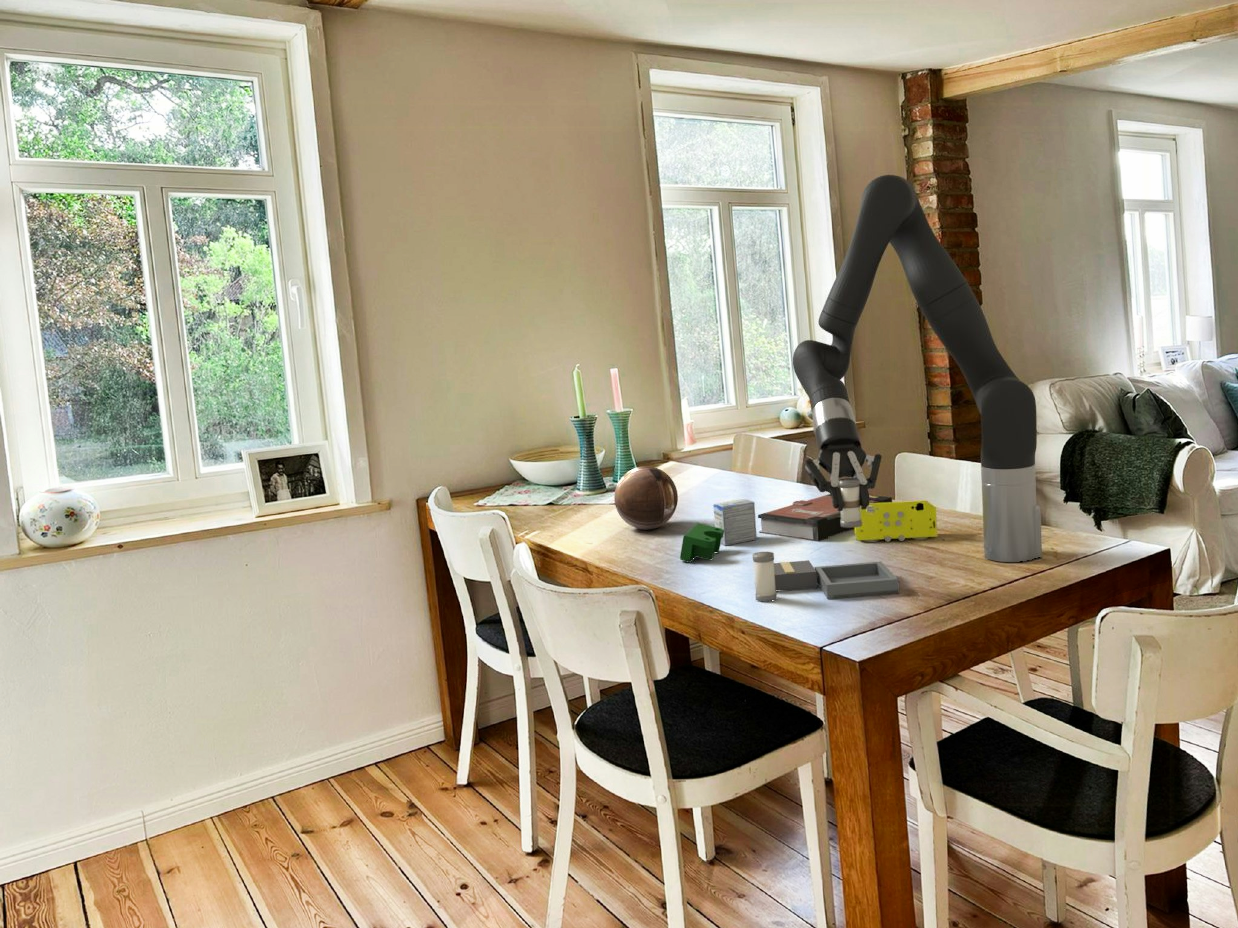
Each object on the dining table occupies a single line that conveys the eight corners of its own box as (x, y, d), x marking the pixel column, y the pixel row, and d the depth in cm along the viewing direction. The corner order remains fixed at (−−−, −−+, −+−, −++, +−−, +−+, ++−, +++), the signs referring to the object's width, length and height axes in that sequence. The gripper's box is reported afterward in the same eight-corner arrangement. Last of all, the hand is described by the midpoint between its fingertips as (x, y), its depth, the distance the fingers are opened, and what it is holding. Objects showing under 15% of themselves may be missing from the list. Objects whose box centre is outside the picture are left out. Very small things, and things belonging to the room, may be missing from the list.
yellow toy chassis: (856, 544, 202) (854, 504, 201) (854, 538, 208) (852, 499, 207) (937, 540, 199) (936, 500, 198) (933, 534, 205) (932, 495, 204)
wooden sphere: (607, 529, 238) (601, 468, 236) (662, 518, 244) (656, 459, 242) (634, 539, 225) (628, 474, 222) (691, 528, 231) (686, 465, 228)
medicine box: (747, 536, 217) (744, 498, 216) (757, 540, 213) (754, 501, 212) (715, 542, 215) (712, 503, 213) (725, 546, 210) (722, 506, 209)
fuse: (775, 595, 172) (772, 550, 171) (778, 601, 169) (775, 555, 167) (754, 596, 172) (751, 552, 171) (757, 602, 169) (753, 557, 167)
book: (831, 511, 237) (830, 491, 236) (892, 518, 223) (891, 497, 223) (757, 534, 221) (755, 512, 220) (818, 543, 207) (817, 520, 206)
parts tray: (881, 574, 178) (880, 561, 178) (898, 593, 167) (898, 579, 166) (815, 580, 179) (814, 566, 179) (827, 599, 167) (826, 584, 167)
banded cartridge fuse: (859, 522, 173) (857, 477, 172) (863, 526, 169) (861, 481, 168) (838, 523, 173) (836, 479, 172) (842, 528, 169) (840, 482, 168)
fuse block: (809, 576, 182) (808, 559, 181) (817, 587, 174) (816, 570, 174) (760, 580, 182) (759, 563, 182) (766, 592, 174) (765, 574, 174)
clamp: (707, 581, 200) (709, 547, 195) (679, 574, 202) (680, 540, 197) (724, 546, 210) (726, 512, 204) (697, 540, 211) (699, 506, 206)
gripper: (797, 419, 176) (813, 498, 166) (877, 412, 175) (897, 492, 165) (794, 444, 182) (809, 522, 172) (871, 438, 182) (891, 516, 171)
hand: (852, 507), depth 169 cm, fingers closed on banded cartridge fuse, 3 cm apart
